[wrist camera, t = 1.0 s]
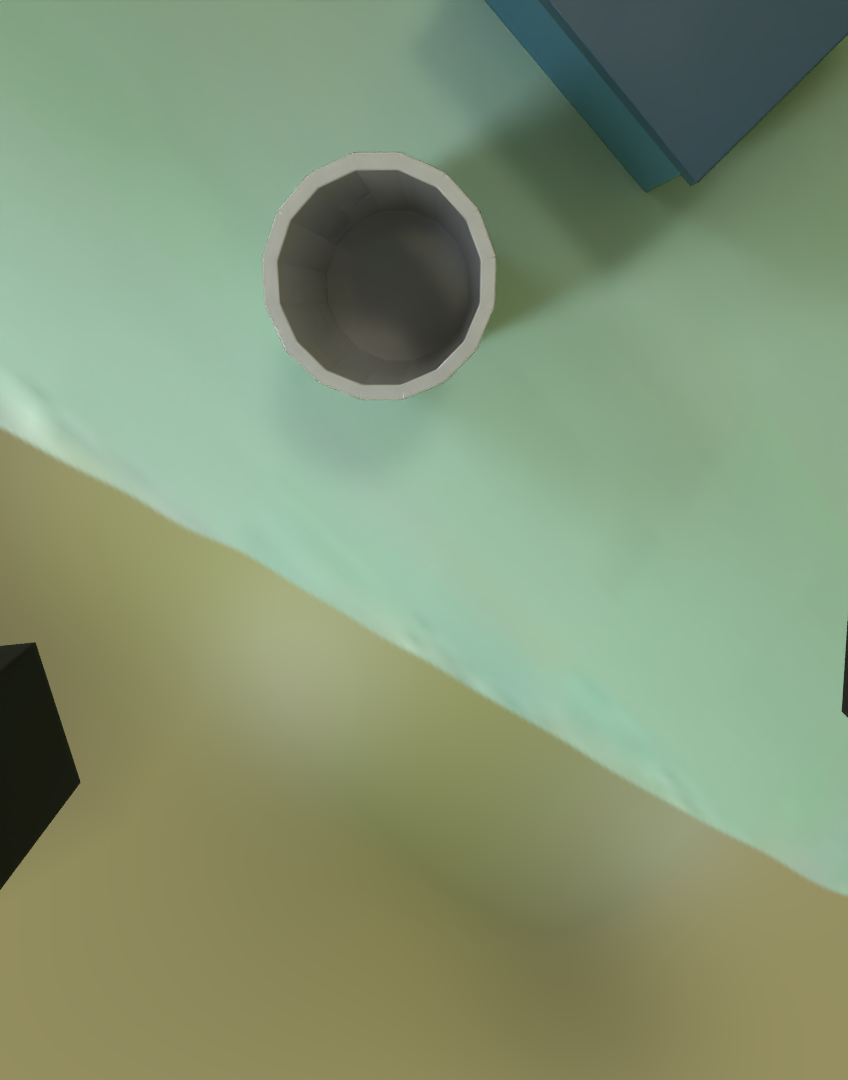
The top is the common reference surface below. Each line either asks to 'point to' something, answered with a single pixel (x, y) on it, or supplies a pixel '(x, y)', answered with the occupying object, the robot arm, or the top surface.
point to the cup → (379, 275)
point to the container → (674, 69)
